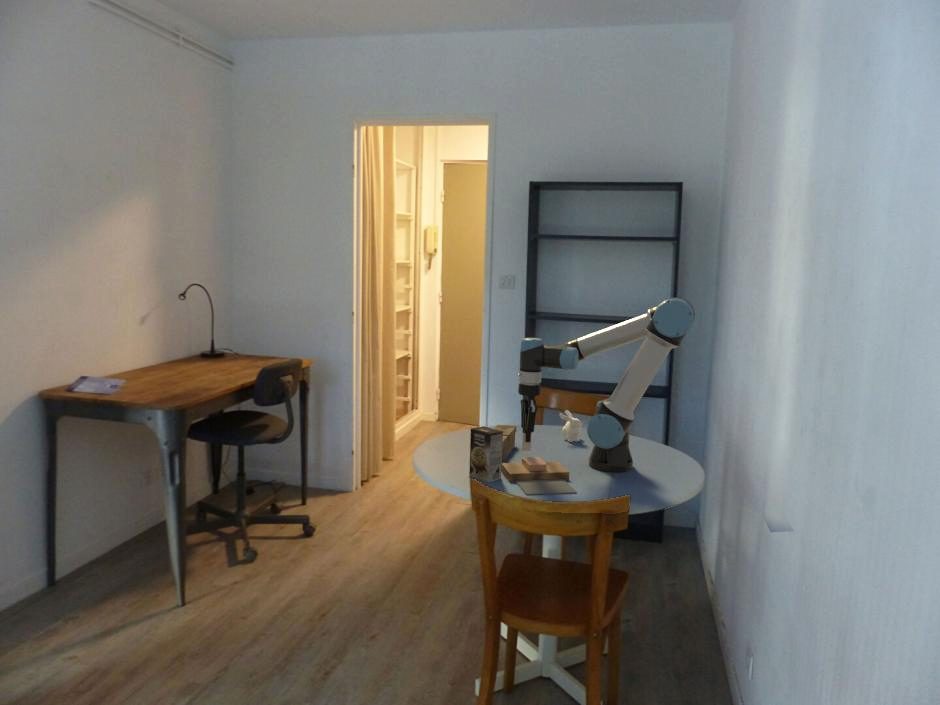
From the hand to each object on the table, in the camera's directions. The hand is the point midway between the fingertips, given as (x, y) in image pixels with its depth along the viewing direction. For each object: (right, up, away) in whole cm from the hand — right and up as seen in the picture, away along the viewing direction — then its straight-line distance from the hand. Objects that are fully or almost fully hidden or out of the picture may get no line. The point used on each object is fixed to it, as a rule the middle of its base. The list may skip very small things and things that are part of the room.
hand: (526, 450), depth 241 cm
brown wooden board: (+2, -7, -9) cm, 12 cm away
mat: (+4, -9, -22) cm, 24 cm away
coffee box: (-15, -7, -13) cm, 21 cm away
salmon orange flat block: (+2, -4, -9) cm, 10 cm away
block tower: (-9, -4, +17) cm, 19 cm away
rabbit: (+21, -2, +40) cm, 45 cm away
